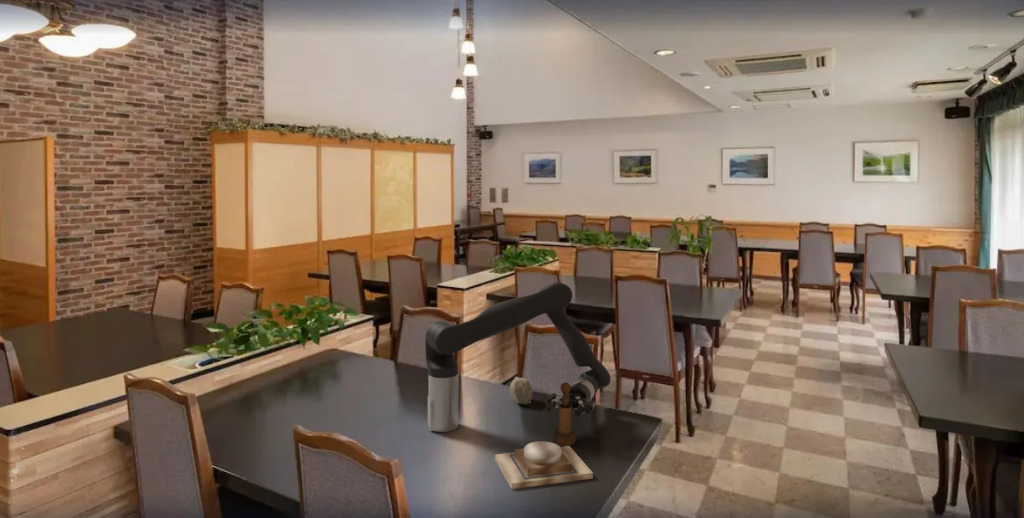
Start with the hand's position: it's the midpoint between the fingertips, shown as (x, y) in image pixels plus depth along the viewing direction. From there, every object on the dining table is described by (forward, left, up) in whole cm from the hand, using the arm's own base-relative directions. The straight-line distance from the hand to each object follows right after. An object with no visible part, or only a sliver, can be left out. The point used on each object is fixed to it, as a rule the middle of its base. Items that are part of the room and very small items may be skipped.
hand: (562, 411), depth 178 cm
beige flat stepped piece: (-11, -13, -10) cm, 20 cm away
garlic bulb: (-2, +37, -10) cm, 38 cm away
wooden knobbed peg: (+1, +2, -10) cm, 10 cm away
